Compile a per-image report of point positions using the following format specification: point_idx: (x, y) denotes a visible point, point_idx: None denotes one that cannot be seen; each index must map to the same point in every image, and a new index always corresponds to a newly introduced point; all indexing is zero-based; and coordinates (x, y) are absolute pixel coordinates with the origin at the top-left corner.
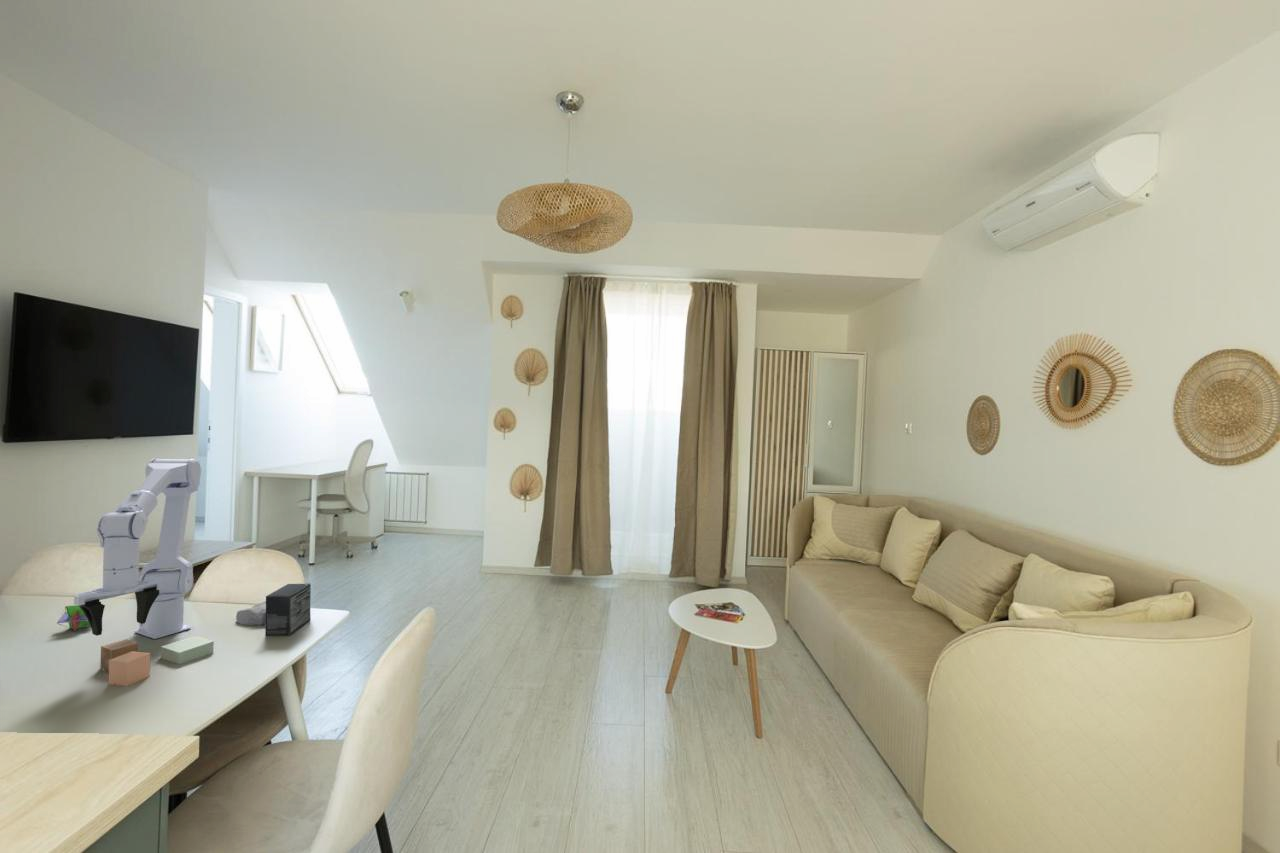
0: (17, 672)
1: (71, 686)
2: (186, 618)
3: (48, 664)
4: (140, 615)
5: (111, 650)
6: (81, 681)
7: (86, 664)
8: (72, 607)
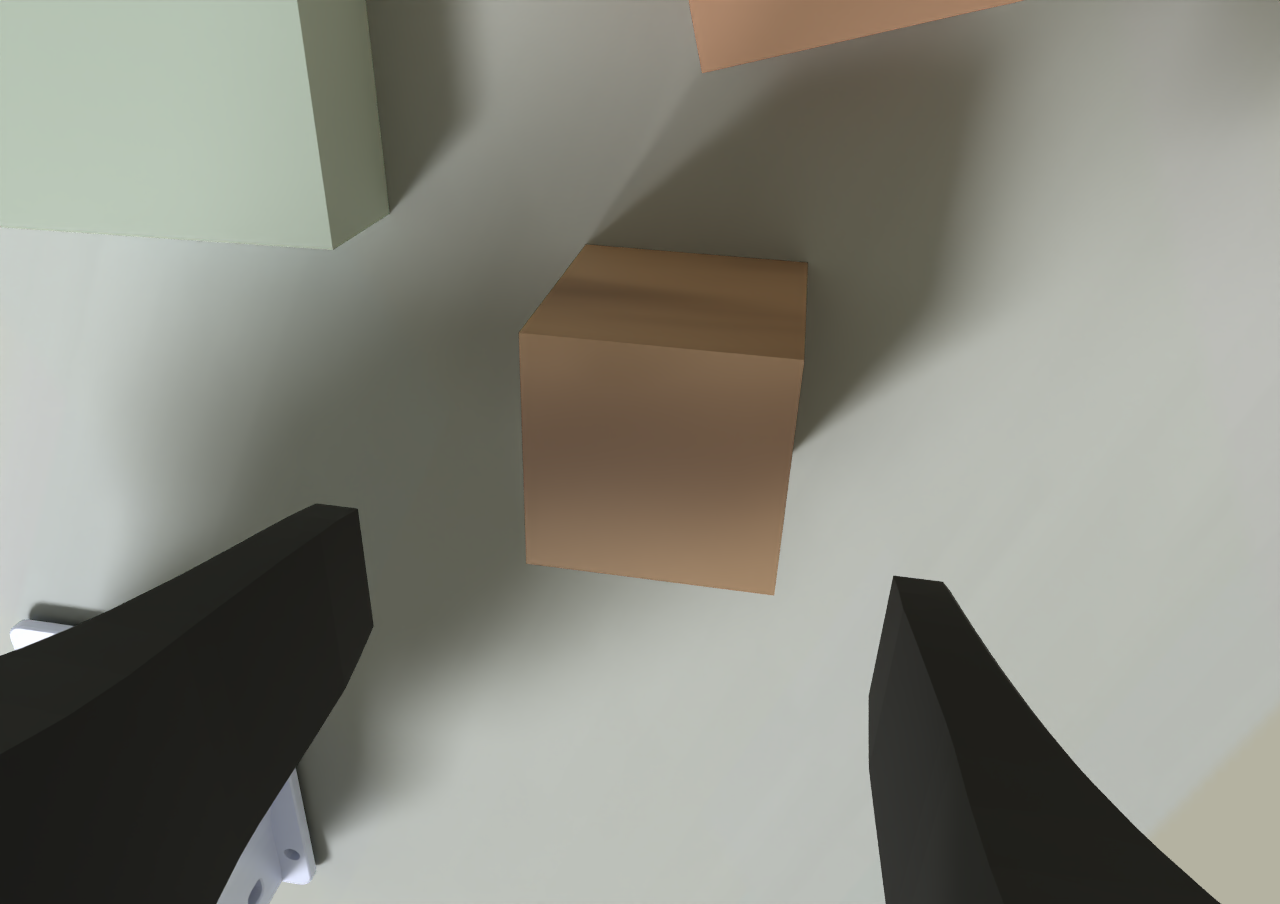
0: None
1: (1152, 276)
2: None
3: None
4: (298, 641)
5: (802, 366)
6: (1036, 316)
7: (777, 637)
8: None
